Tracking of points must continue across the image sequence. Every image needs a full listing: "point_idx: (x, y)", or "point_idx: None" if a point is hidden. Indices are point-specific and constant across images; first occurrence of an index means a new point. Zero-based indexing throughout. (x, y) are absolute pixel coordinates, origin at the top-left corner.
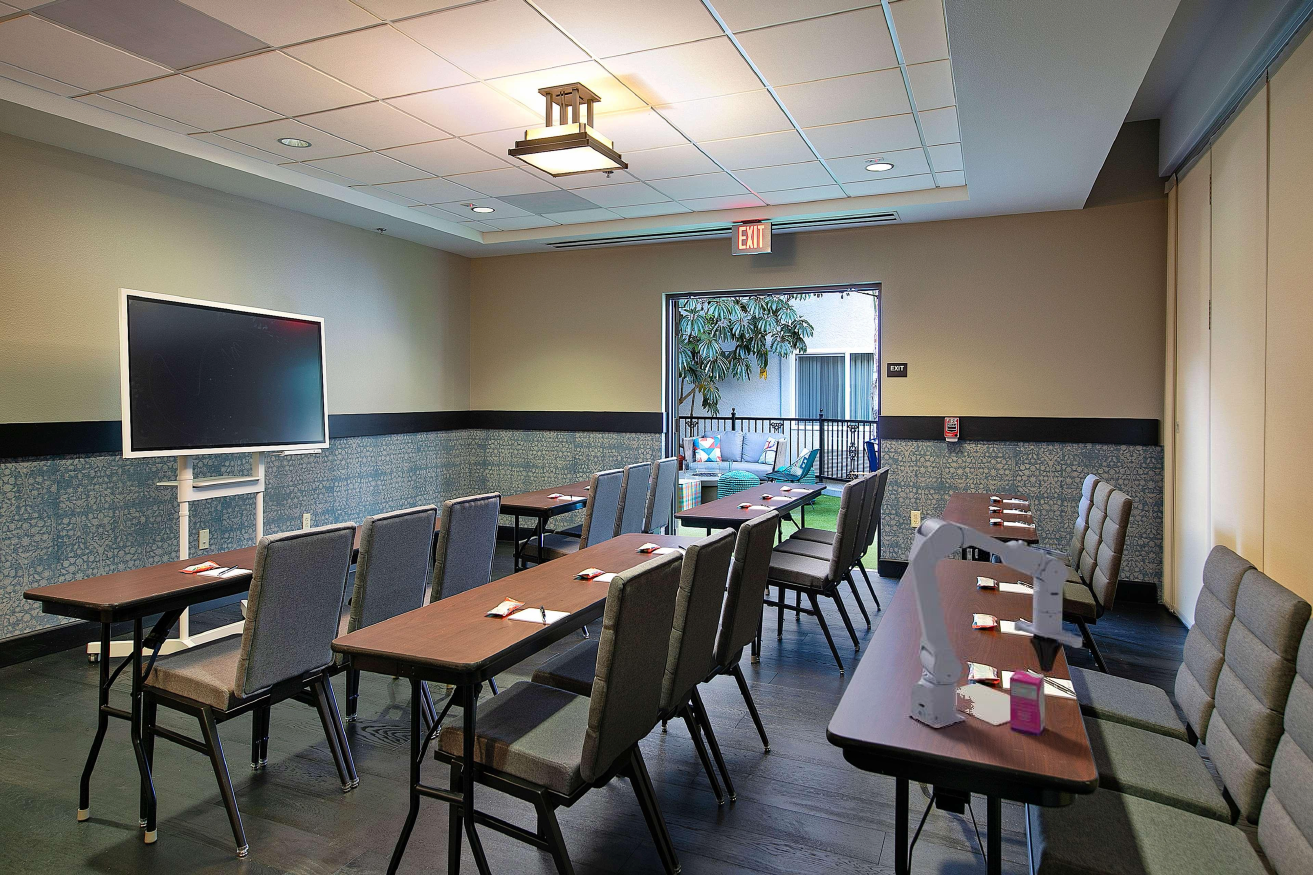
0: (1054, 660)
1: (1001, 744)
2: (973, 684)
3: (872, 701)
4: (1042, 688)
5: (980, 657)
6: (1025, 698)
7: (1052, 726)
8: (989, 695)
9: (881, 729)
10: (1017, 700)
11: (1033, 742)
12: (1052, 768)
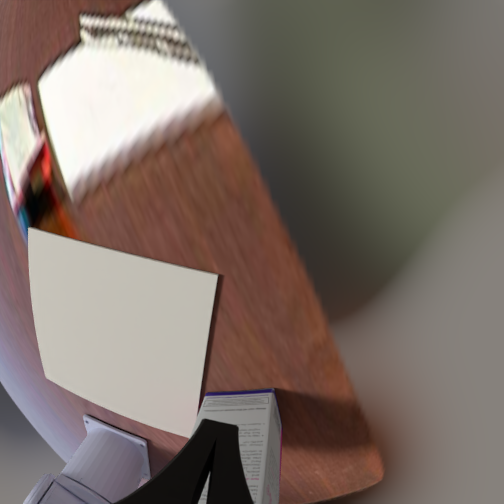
0: (243, 472)
1: None
2: (31, 245)
3: (43, 426)
4: (271, 495)
5: (4, 65)
6: None
7: (286, 370)
8: (80, 290)
9: None
10: None
11: (284, 453)
12: (338, 486)
